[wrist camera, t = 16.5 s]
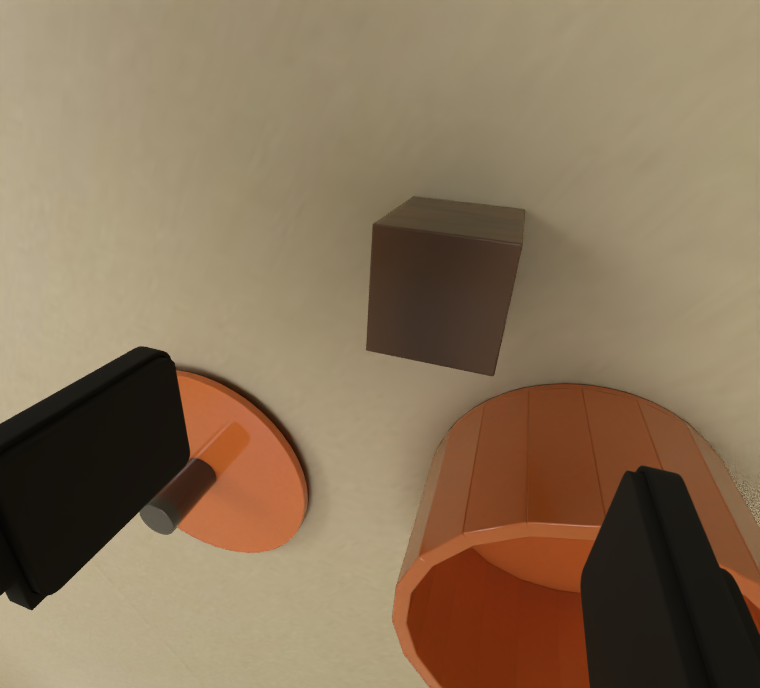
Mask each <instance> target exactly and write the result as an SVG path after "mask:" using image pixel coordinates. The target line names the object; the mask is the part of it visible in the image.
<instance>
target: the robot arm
mask: <svg viewBox="0 0 760 688" xmlns="http://www.w3.org/2000/svg"><path fill="white" fill-rule="evenodd" d="M189 458H190V447H189V441H188V436H187V430H186V424H185V418H184V413H183V407H182V401H181V395H180V390H179V384H178V378H177V372H176V367H175V363H174V362H173V361H172V360H171V358H170V356H169V354H168V353H166V352H164V351H161V350H157V349H152V348H148V347H141V346H140V347H137V348H135V349H133V350H131V351H129V352H127V353H126V354H124V355H122V356H120V357H119V358H117V359H115V360H113V361H111V362H110V363H108V364H106V365H104V366H103V367H101V368H99V369H97V370H95V371H94V372H92V373H90V374H88V375H86V376H85V377H83V378H81V379H79V380H78V381H76V382H74V383H72V384H70V385H69V386H67V387H65V388H63V389H62V390H60V391H58V392H56V393H54V394H53V395H51V396H49V397H47V398H46V399H44V400H42V401H40V402H38V403H37V404H35V405H33V406H31V407H29V408H28V409H26V410H24V411H22V412H21V413H19V414H17V415H15V416H13V417H12V418H10V419H8V420H6V421H5V422H3V423H1V424H0V595H2V594H3V593H4V592H6V594H7V596H8V598H9V600H10V601H12V602H14V603H16V604H18V605H21V606H23V607H25V608H27V609H30V610H33V609H34V608H35V607H36V606H37V605H38V604H39V603H40V602H41V601H42V600H43V599H44V598H45V597H46V596H47V595H52V594H53V593H55V592H57V591H58V590H59V589H61V588H62V587H63V586H64V585H65V584H66V583H67V582H68V581H69V580H70V579H71V578H72V577H73V576H74V575H75V574H76V573H77V572H78V571H79V570H80V569H81V568H82V567H83V566H84V565H85V564H86V563H87V562H88V561H89V560H90V559H91V558H92V557H93V556H95V555H96V554H97V553H98V552H99V551H100V550H101V549H102V548H103V547H104V546H105V545H106V544H107V543H108V542H109V541H110V540H111V539H112V538H113V537H114V536H115V535H116V534H117V533H118V532H119V531H120V530H121V529H122V528H123V527H124V526H125V525H126V524H127V523H128V522H129V521H130V520H131V519H132V518H133V517H134V516H135V515H136V514H137V513H138V512H139V511H140V510H141V509H142V508H144V507H145V506H146V505H147V504H148V503H149V502H150V501H151V500H152V499H153V498H154V497H155V496H156V495H157V494H158V493H159V492H160V491H161V490H162V489H163V488H164V487H165V486H166V485H167V484H168V483H169V482H170V481H171V480H172V479H173V478H174V477H175V476H176V475H177V474H178V473H179V472H180V471H181V470H182V469H183V468H184V467H185V466H186V464H187V463H188V461H189ZM580 590H581V601H582V612H583V622H584V633H585V643H586V653H587V664H588V674H589V685H590V688H760V634H759V632H758V630H757V627H756V625H755V623H754V620H753V618H752V616H751V614H750V611H749V609H748V607H747V604H746V602H745V600H744V598H743V595H742V593H741V591H740V589H739V586H738V584H737V583H736V581H735V579H734V578H733V576H732V575H731V574H730V573H729V572H728V571H727V570H726V569H723V568H720V566H719V564H718V562H717V559H716V557H715V554H714V552H713V550H712V547H711V545H710V542H709V540H708V537H707V535H706V533H705V530H704V528H703V525H702V523H701V521H700V518H699V516H698V513H697V511H696V509H695V506H694V504H693V501H692V499H691V497H690V494H689V492H688V489H687V487H686V484H685V482H684V480H683V478H682V477H681V475H679V474H678V473H673V472H669V471H665V470H661V469H657V468H652V467H648V466H644V465H642V466H640V467H639V468H638V469H637V470H636V472H633V471H626V472H625V473H624V475H623V477H622V479H621V481H620V484H619V486H618V488H617V491H616V493H615V495H614V498H613V500H612V502H611V505H610V507H609V509H608V512H607V514H606V516H605V519H604V521H603V523H602V526H601V528H600V530H599V533H598V535H597V537H596V540H595V542H594V544H593V547H592V549H591V551H590V554H589V556H588V558H587V561H586V563H585V565H584V568H583V571H582V575H581V583H580Z"/></svg>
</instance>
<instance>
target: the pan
mask: <svg viewBox="0 0 760 688" xmlns="http://www.w3.org/2000/svg"><path fill="white" fill-rule="evenodd" d="M642 465H644V466H648V467H652V468H657V469H661V470H665V471H669V472H673V473H678V474H679V475H681V477H682V478H683V480H684V482H685V484H686V487H687V489H688V492H689V494H690V497H691V499H692V501H693V504H694V506H695V509H696V511H697V513H698V516H699V518H700V521H701V523H702V525H703V528H704V530H705V533H706V535H707V537H708V540H709V542H710V545H711V547H712V550H713V552H714V554H715V557H716V559H717V562H718V564H719V566H720V568H723V569H726V570H727V571H728V572H729V573H730V574H731V575H732V576H733V578H734V579H735V581H736V583H737V584H738V586H739V589H740V591H741V593H742V595H743V598H744V600H745V602H746V604H747V607H748V609H749V611H750V614H751V616H752V618H753V620H754V623H755V625H756V627H757V630H758V632H759V634H760V528H759V526H758V525H757V523H756V521H755V519H754V517H753V515H752V514H751V512H750V510H749V508H748V506H747V504H746V503H745V501H744V499H743V497H742V495H741V494H740V492H739V490H738V488H737V486H736V484H735V483H734V481H733V479H732V477H731V475H730V473H729V472H728V470H727V468H726V466H725V464H724V463H723V461H722V459H721V458H720V456H719V455H718V454H717V453H716V452H715V451H714V450H713V448H712V447H711V446H710V445H709V444H708V442H707V441H706V440H705V439H704V438H703V437H702V436H701V435H700V434H699V433H698V432H697V431H696V430H695V429H694V428H692V427H691V426H690V425H689V424H688V423H686V422H685V421H683V420H682V419H681V418H679V417H678V416H676V415H675V414H673V413H672V412H670V411H668V410H666V409H664V408H662V407H660V406H658V405H656V404H654V403H652V402H651V401H648V400H645V399H643V398H640V397H637V396H635V395H632V394H629V393H625V392H621V391H617V390H613V389H610V388H604V387H598V386H591V385H581V384H551V385H539V386H533V387H528V388H522V389H518V390H515V391H511V392H508V393H504V394H502V395H499V396H497V397H495V398H492V399H490V400H488V401H485V402H484V403H482V404H480V405H479V406H477V407H475V408H474V409H472V410H470V411H469V412H468V413H467V414H465V415H464V416H463V417H462V418H460V419H459V420H458V421H457V422H456V423H455V424H454V425H453V427H452V428H451V429H450V430H449V431H448V433H447V434H446V436H445V437H444V439H443V440H442V442H441V444H440V446H439V448H438V450H437V452H436V454H435V455H434V458H433V461H432V464H431V468H430V471H429V475H428V478H427V481H426V485H425V488H424V492H423V495H422V499H421V502H420V505H419V509H418V512H417V516H416V519H415V523H414V526H413V529H412V533H411V536H410V540H409V543H408V547H407V550H406V554H405V557H404V560H403V564H402V567H401V571H400V574H399V578H398V581H397V584H396V589H395V597H394V605H393V613H392V622H393V625H394V628H395V630H396V633H397V636H398V639H399V642H400V645H401V648H402V651H403V653H404V655H405V657H406V658H407V659H408V660H409V662H410V663H411V664H412V666H413V667H414V668H415V670H416V671H417V672H418V674H419V675H420V676H421V677H422V679H423V680H424V681H425V683H426V684H427V685H428V686H429V687H430V688H590V685H589V674H588V664H587V653H586V643H585V633H584V622H583V612H582V601H581V590H580V583H581V575H582V571H583V568H584V565H585V563H586V561H587V558H588V556H589V554H590V551H591V549H592V547H593V544H594V542H595V540H596V537H597V535H598V533H599V530H600V528H601V526H602V523H603V521H604V519H605V516H606V514H607V512H608V509H609V507H610V505H611V502H612V500H613V498H614V495H615V493H616V491H617V488H618V486H619V484H620V481H621V479H622V477H623V475H624V473H625V472H626V471H633V472H636V470H637V469H638V468H639V467H640V466H642Z"/></svg>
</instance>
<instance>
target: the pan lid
mask: <svg viewBox="0 0 760 688" xmlns="http://www.w3.org/2000/svg"><path fill="white" fill-rule="evenodd" d="M176 372H177V378H178V384H179V390H180V395H181V401H182V407H183V413H184V418H185V424H186V430H187V436H188V441H189V447H190V458H189V461H188V463H187V464H186V466H185V467H184V468H183V469H182V470H181V471H180V472H179V473H178V474H177V475H176V476H175V477H174V478H173V479H172V480H171V481H170V482H169V483H168V484H167V485H166V486H165V487H164V488H163V489H162V490H161V491H160V492H159V493H158V494H157V495H156V496H155V497H154V498H153V499H152V500H151V501H150V502H149V503H148V504H147V505H146V506H145V507H144V508H142V509H141V510H140V511H139V512H140V516H141V518H142V520H143V521H144V522H145V524H146V525H147V526H148V527H150V528H151V529H152V530H154V531H156V532H158V533H160V534H165V535H168V534H171V533H172V532H173V531H174V530H175V529H176V528H179V529H180V530H182V531H184V532H185V533H187V534H189V535H191V536H192V537H194V538H196V539H199V540H201V541H203V542H205V543H208V544H210V545H213V546H216V547H219V548H223V549H226V550H231V551H236V552H246V553H255V552H264V551H269V550H272V549H275V548H278V547H280V546H282V545H283V544H285V543H286V542H288V541H289V540H290V539H291V538H292V537H293V536H294V535H295V534H296V532H297V531H298V530H299V528H300V526H301V524H302V522H303V520H304V518H305V514H306V510H307V503H308V493H307V485H306V481H305V477H304V473H303V470H302V468H301V465H300V463H299V461H298V459H297V457H296V455H295V453H294V451H293V449H292V448H291V446H290V445H289V443H288V442H287V440H286V439H285V437H284V436H283V435H282V433H281V432H280V431H279V430H278V429H277V427H276V426H275V425H274V424H273V423H272V422H271V421H270V420H269V419H268V418H267V417H266V416H265V415H264V414H263V413H262V412H261V411H260V410H259V409H258V408H256V407H255V406H254V405H253V404H251V403H250V402H249V401H248V400H246V399H245V398H243V397H242V396H240V395H239V394H237V393H236V392H234V391H233V390H231V389H229V388H227V387H226V386H224V385H222V384H220V383H218V382H216V381H213V380H211V379H209V378H206V377H203V376H200V375H197V374H194V373H190V372H185V371H179V370H176Z"/></svg>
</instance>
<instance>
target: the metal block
mask: <svg viewBox="0 0 760 688" xmlns="http://www.w3.org/2000/svg"><path fill="white" fill-rule="evenodd" d="M524 220H525V210H524V209H515V208H507V207H498V206H490V205H481V204H473V203H464V202H456V201H447V200H439V199H430V198H422V197H412V198H411V199H409V200H408V201H406V202H405V203H403V204H402V205H400V206H399V207H397V208H396V209H394V210H393V211H391V212H390V213H388V214H387V215H386V216H384V217H383V218H381V219H380V220H378V221H377V222H375V223H374V224H373V229H372V248H371V267H370V286H369V305H368V324H367V343H366V350H367V351H372V352H377V353H382V354H386V355H391V356H396V357H401V358H406V359H411V360H416V361H421V362H425V363H430V364H435V365H440V366H445V367H450V368H455V369H459V370H464V371H469V372H474V373H479V374H484V375H489V376H494V374H495V369H496V365H497V360H498V356H499V351H500V346H501V342H502V337H503V333H504V328H505V323H506V319H507V314H508V310H509V305H510V300H511V296H512V291H513V287H514V282H515V277H516V273H517V268H518V264H519V259H520V254H521V250H522V245H523V232H524Z"/></svg>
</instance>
